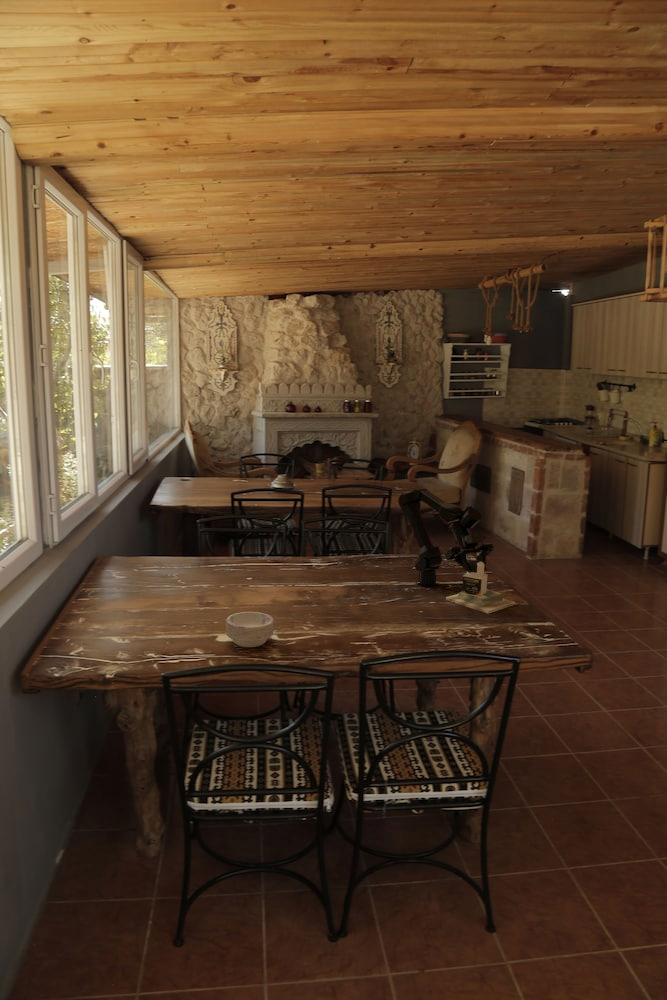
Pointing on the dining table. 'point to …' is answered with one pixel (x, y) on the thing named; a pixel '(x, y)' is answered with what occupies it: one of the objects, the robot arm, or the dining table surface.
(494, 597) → the holder board
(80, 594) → the dining table surface
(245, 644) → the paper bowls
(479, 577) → the medicine bottle
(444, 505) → the robot arm
